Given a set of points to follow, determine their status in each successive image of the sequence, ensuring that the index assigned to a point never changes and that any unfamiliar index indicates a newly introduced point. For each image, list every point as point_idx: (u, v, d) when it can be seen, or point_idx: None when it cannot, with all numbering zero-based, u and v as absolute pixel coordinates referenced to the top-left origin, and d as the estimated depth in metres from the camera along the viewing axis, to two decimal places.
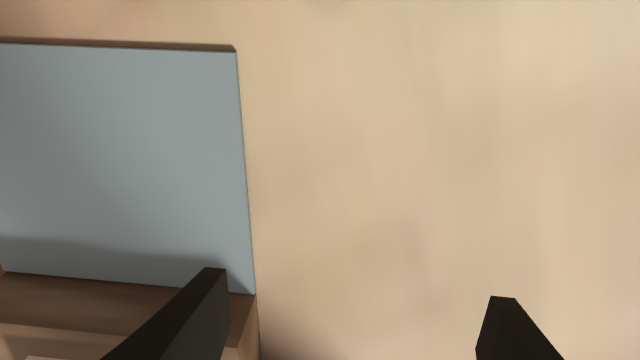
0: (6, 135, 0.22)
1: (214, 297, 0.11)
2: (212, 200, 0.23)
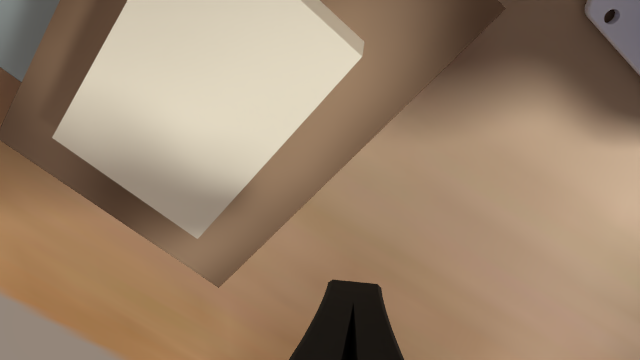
0: None
1: (352, 312, 0.11)
2: None
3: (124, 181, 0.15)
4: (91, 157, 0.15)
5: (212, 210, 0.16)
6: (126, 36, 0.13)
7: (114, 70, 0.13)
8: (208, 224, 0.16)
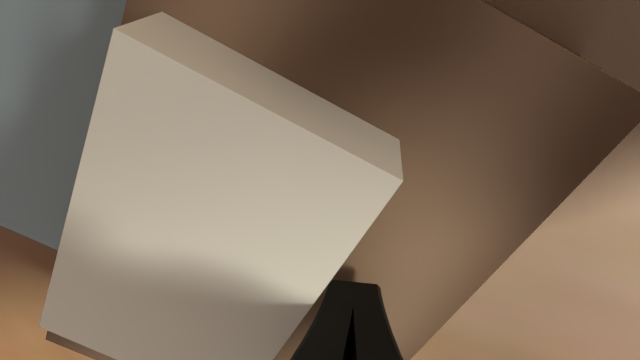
0: None
1: None
2: None
3: None
4: (88, 341, 0.12)
5: None
6: (89, 208, 0.10)
7: (86, 246, 0.10)
8: None
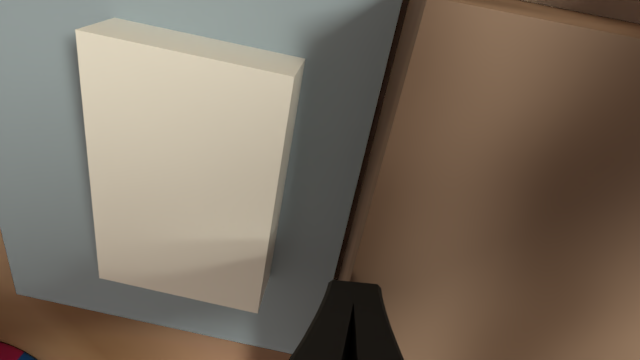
0: None
1: (352, 312, 0.11)
2: (180, 3, 0.13)
3: None
4: None
5: None
6: None
7: None
8: None
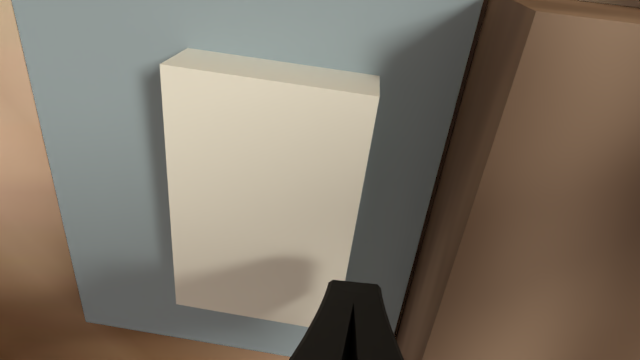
0: None
1: (352, 312, 0.11)
2: (254, 30, 0.13)
3: None
4: None
5: None
6: None
7: None
8: None
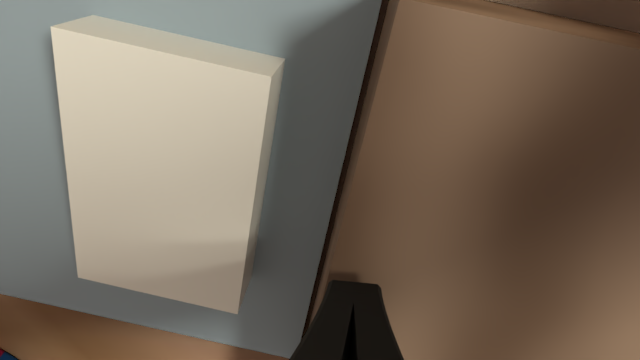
0: None
1: (352, 312, 0.11)
2: (159, 2, 0.13)
3: None
4: None
5: None
6: None
7: None
8: None
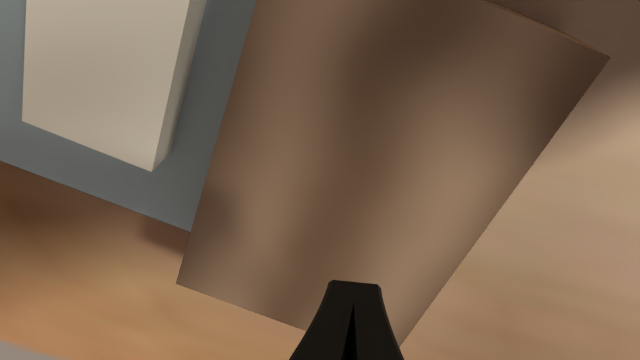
0: None
1: (352, 312, 0.11)
2: None
3: None
4: None
5: None
6: None
7: None
8: None
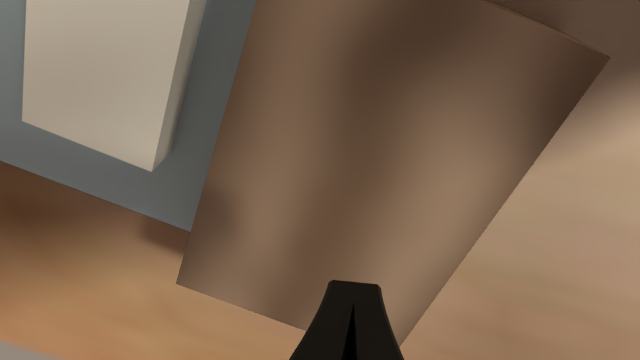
0: None
1: (352, 312, 0.11)
2: None
3: None
4: None
5: None
6: None
7: None
8: None
